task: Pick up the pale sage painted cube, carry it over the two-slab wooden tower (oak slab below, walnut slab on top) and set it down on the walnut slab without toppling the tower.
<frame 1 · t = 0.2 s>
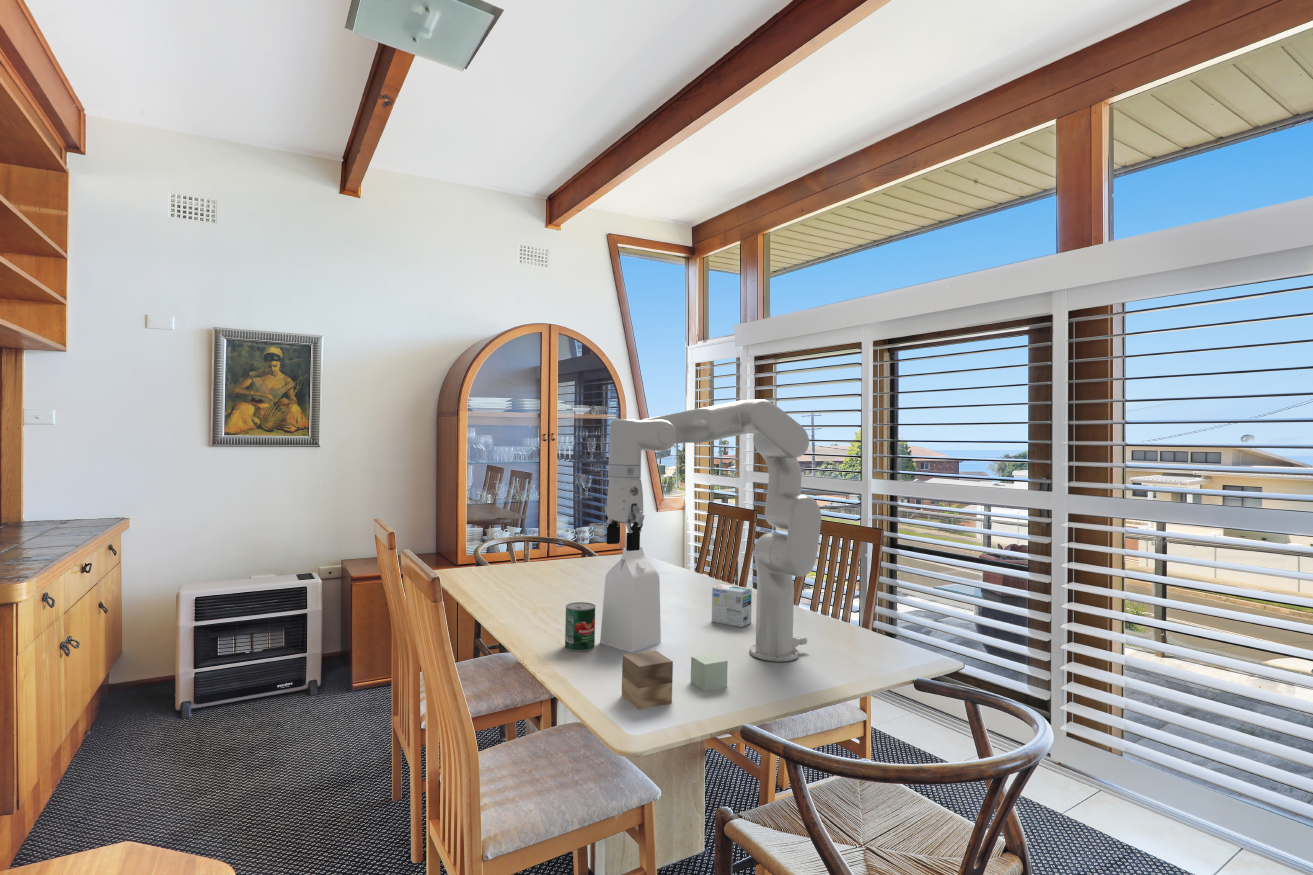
hand: (622, 546, 155), 31 cm above the table, fingers open, 9 cm apart
oak slab: (646, 700, 144), on the table, touching walnut slab
canned tomato: (579, 647, 178), on the table
light bulb box: (731, 623, 206), on the table
milk: (630, 643, 183), on the table
walnut slab: (647, 679, 144), point 4 cm above the table, touching oak slab
sage cube: (708, 684, 153), on the table
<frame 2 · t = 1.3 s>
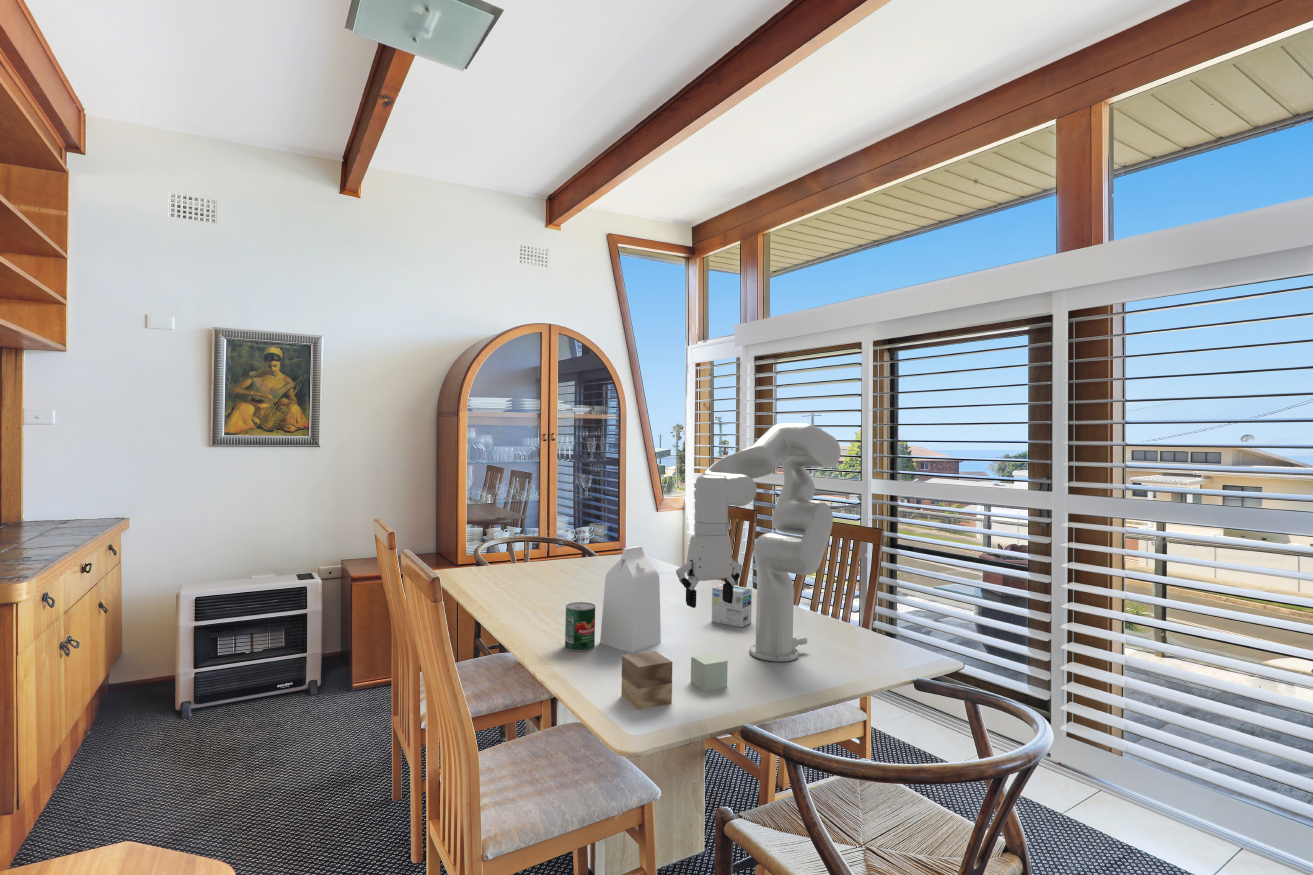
hand: (709, 604, 153), 18 cm above the table, fingers open, 9 cm apart
nothing on the table moved.
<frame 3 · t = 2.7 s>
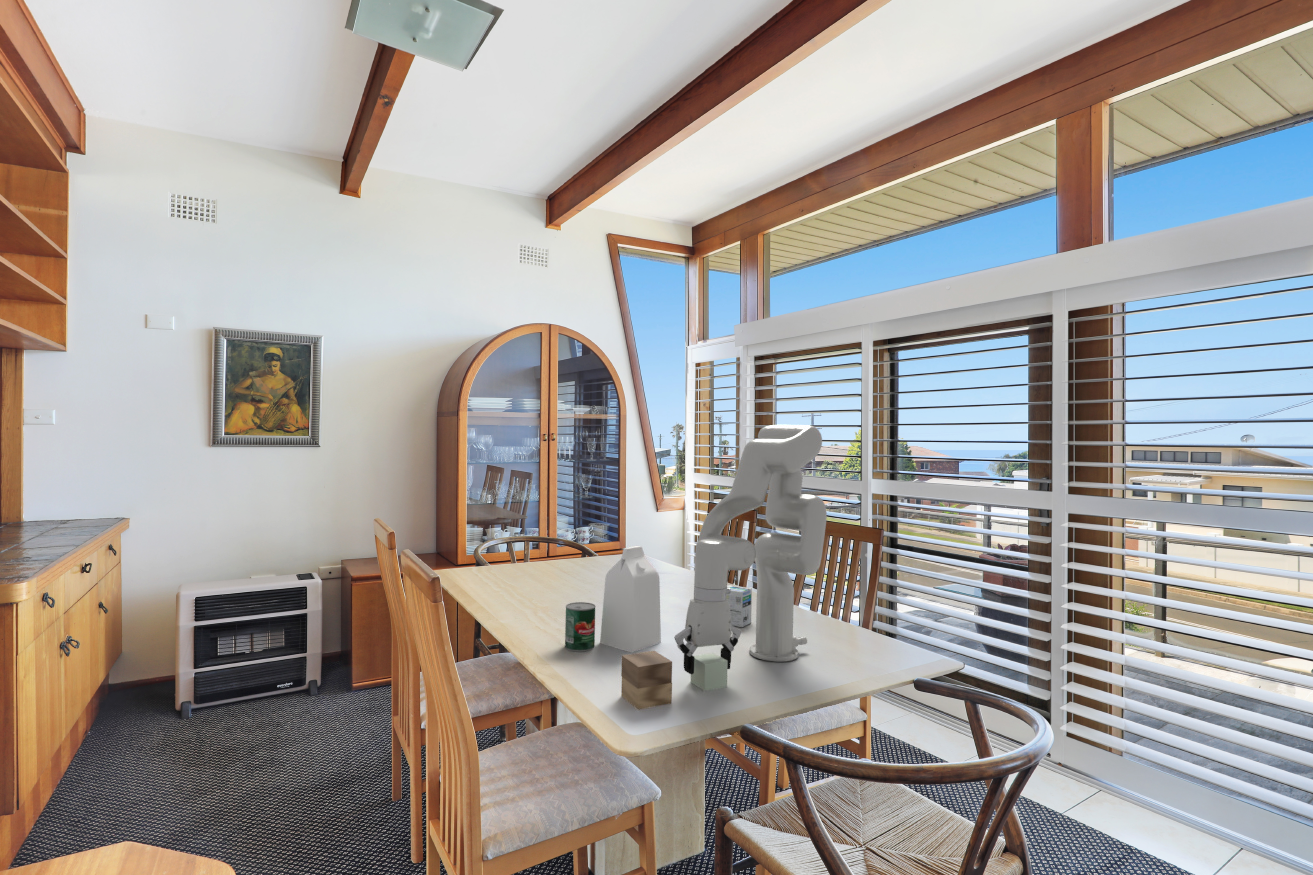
hand: (707, 669, 153), 3 cm above the table, fingers open, 9 cm apart
nothing on the table moved.
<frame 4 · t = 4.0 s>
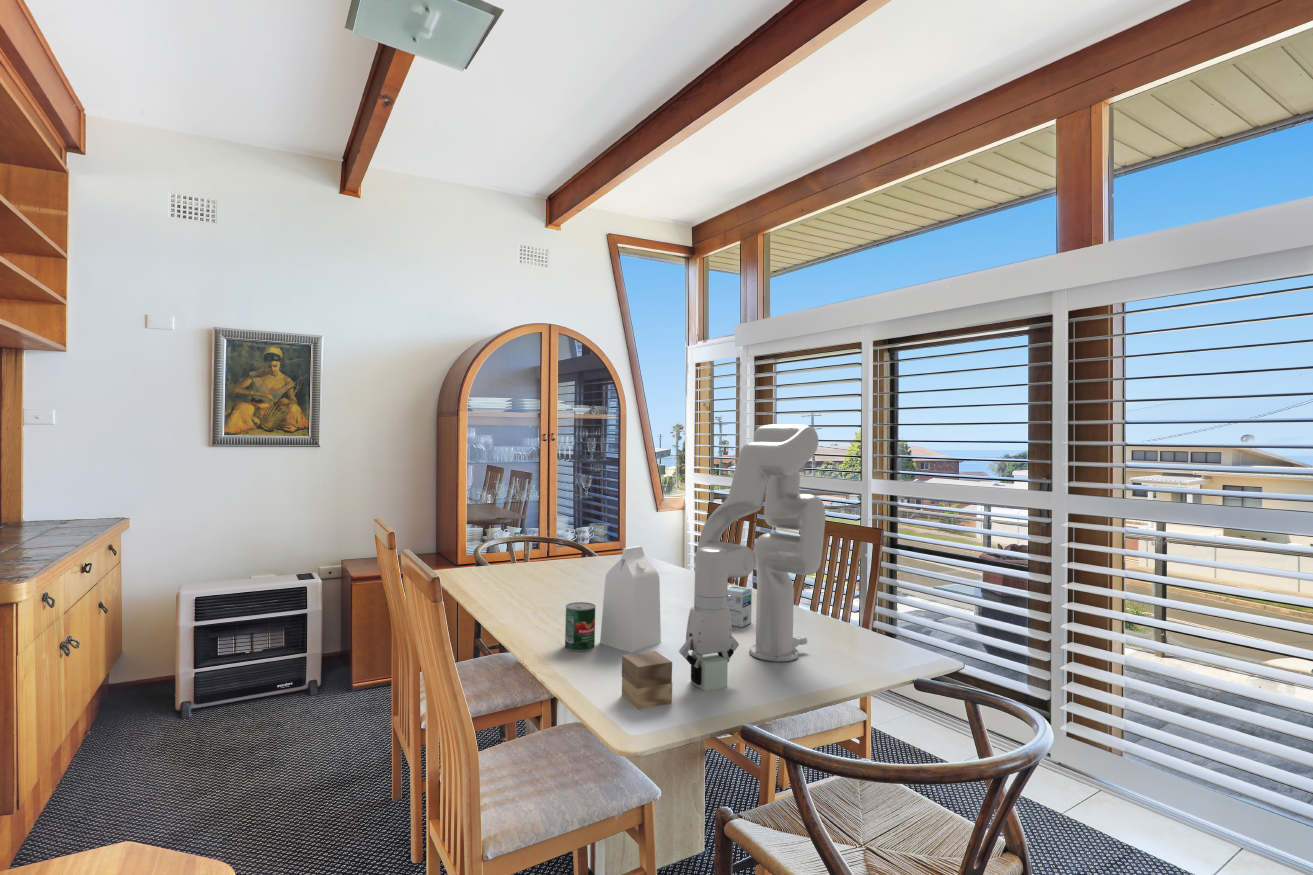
hand: (708, 680, 153), 1 cm above the table, fingers closed on sage cube, 6 cm apart
sage cube: (708, 684, 153), on the table, touching gripper
everything else where it was.
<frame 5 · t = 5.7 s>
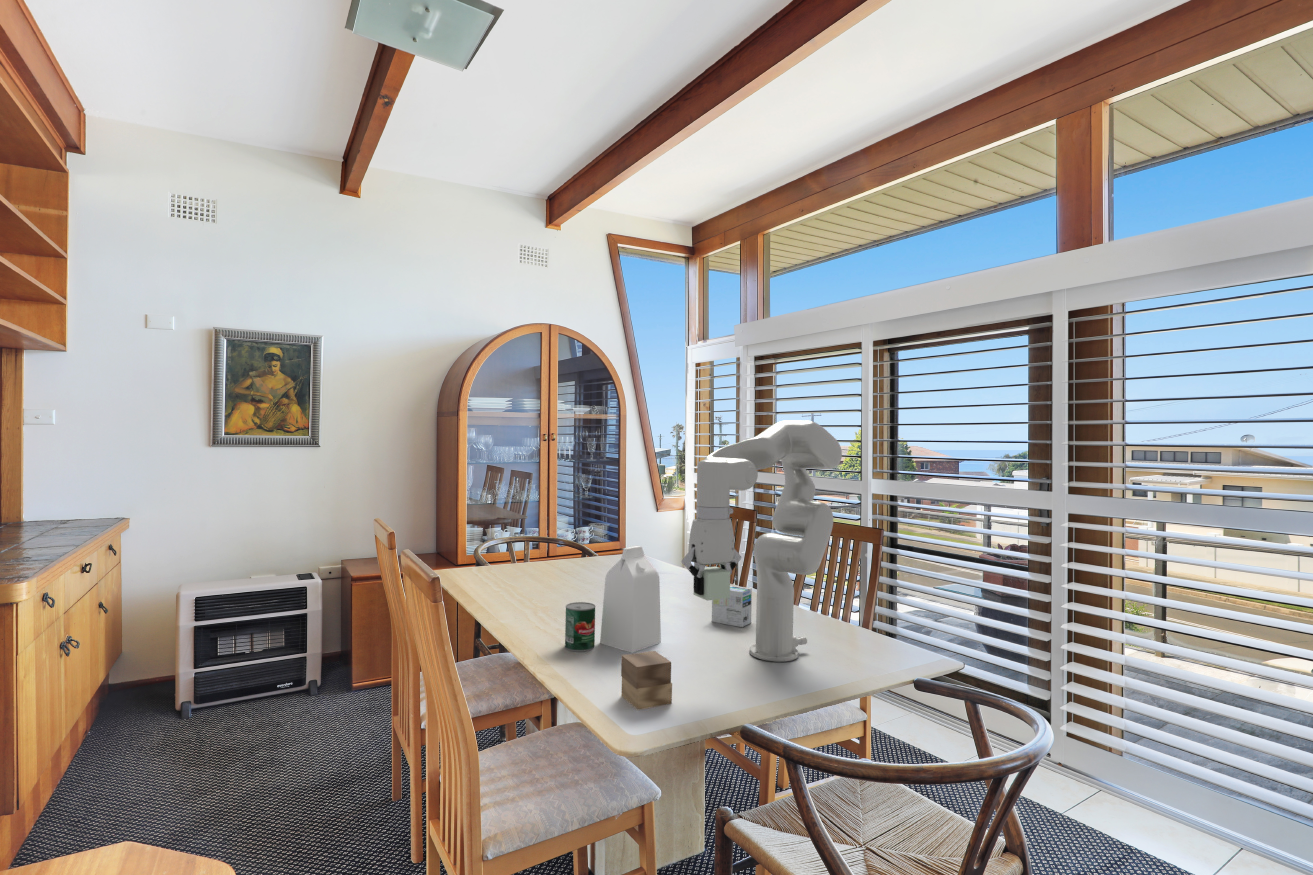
hand: (711, 591, 154), 21 cm above the table, fingers closed on sage cube, 6 cm apart
sage cube: (711, 596, 154), point 20 cm above the table, touching gripper
everything else where it was.
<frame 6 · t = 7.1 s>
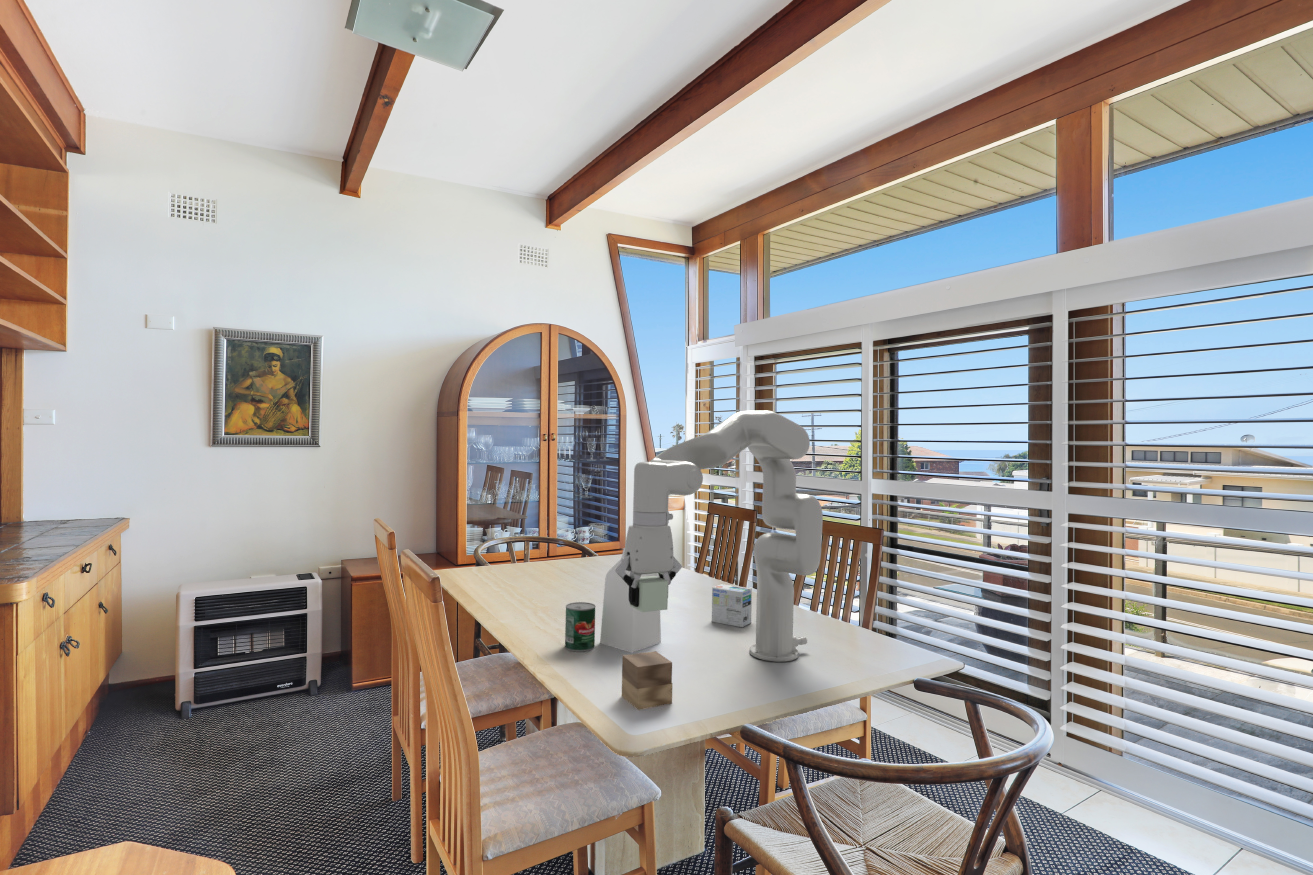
hand: (648, 603, 144), 21 cm above the table, fingers closed on sage cube, 6 cm apart
sage cube: (648, 607, 144), point 20 cm above the table, touching gripper
everything else where it was.
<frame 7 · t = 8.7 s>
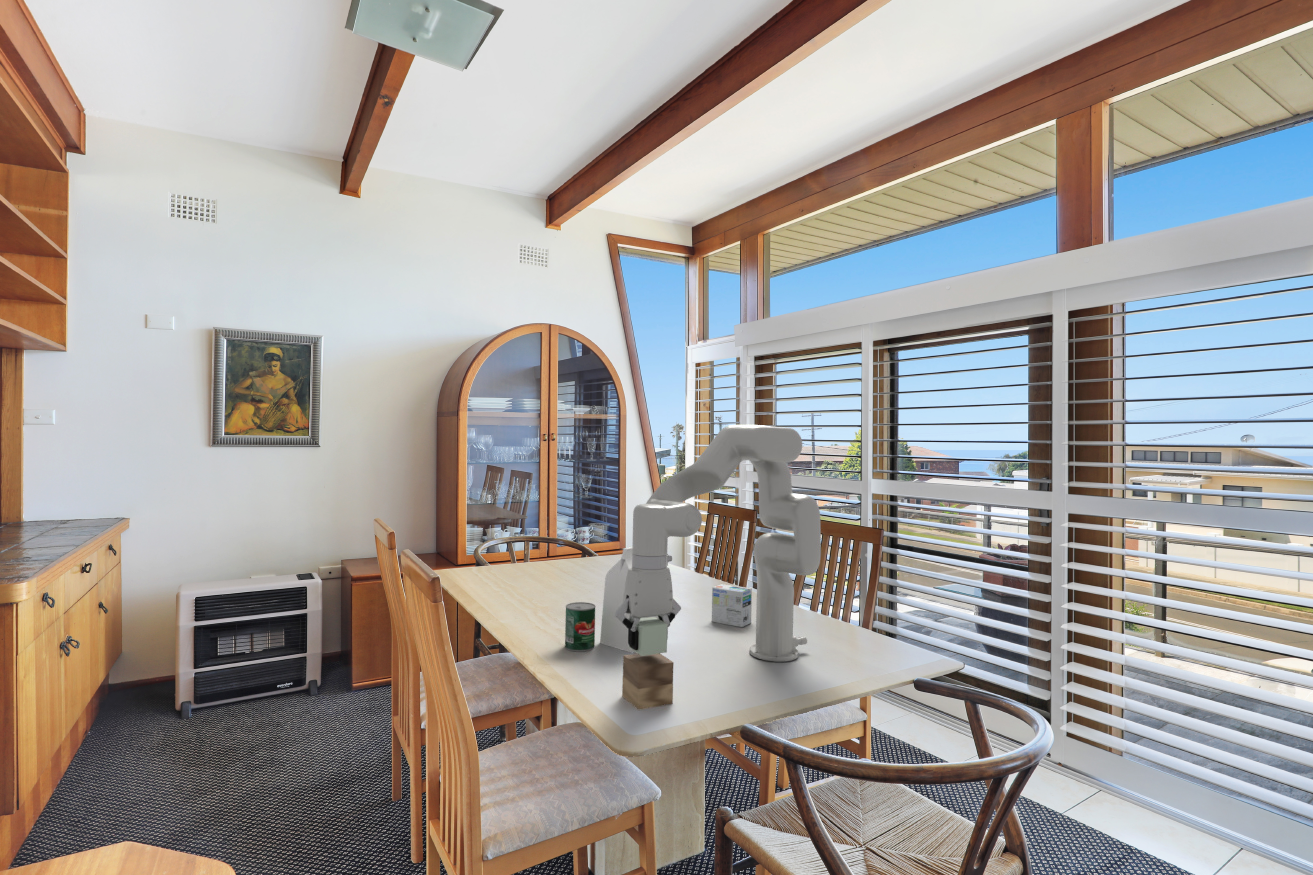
hand: (647, 645, 144), 12 cm above the table, fingers closed on sage cube, 6 cm apart
sage cube: (647, 649, 144), point 11 cm above the table, touching gripper
everything else where it was.
when the fingers open (11 cm above the table, at t = 9.5 s): sage cube drops 2 cm, resting on walnut slab.
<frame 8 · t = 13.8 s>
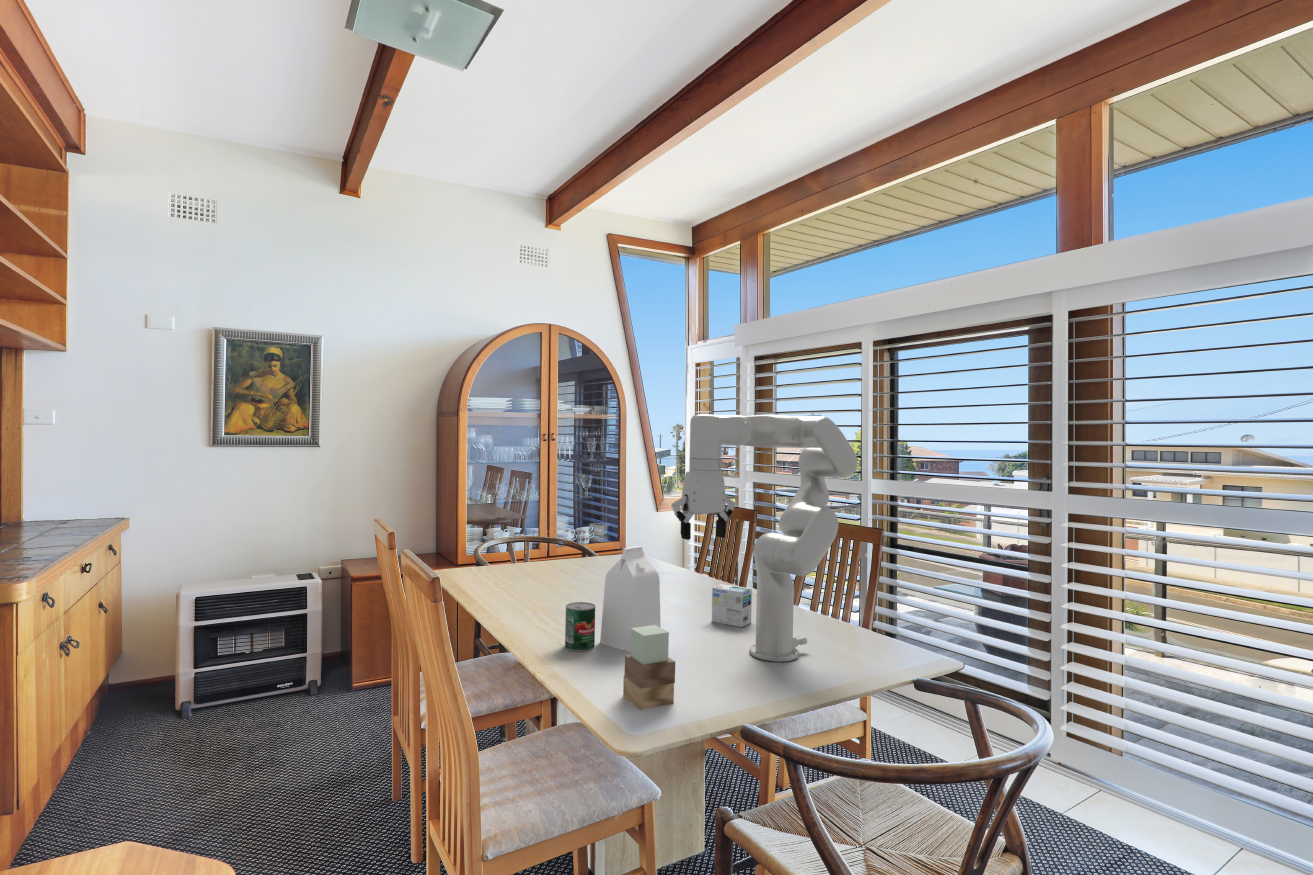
hand: (703, 537, 161), 32 cm above the table, fingers open, 9 cm apart
walnut slab: (649, 679, 144), point 4 cm above the table, touching oak slab, sage cube
sage cube: (648, 658, 144), point 9 cm above the table, touching walnut slab
everything else where it was.
at the end: sage cube 0.0 cm from the oak slab (horizontally); sage cube point 8.8 cm above the table; walnut slab tilted 0° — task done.
